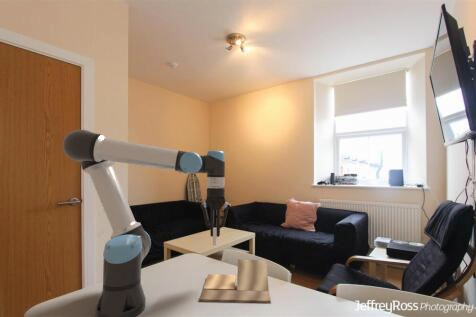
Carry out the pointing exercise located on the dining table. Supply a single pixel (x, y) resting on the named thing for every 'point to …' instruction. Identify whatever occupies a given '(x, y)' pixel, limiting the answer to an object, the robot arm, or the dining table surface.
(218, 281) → the striped wooden square slab
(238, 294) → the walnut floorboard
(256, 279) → the square wooden panel
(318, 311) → the dining table surface
